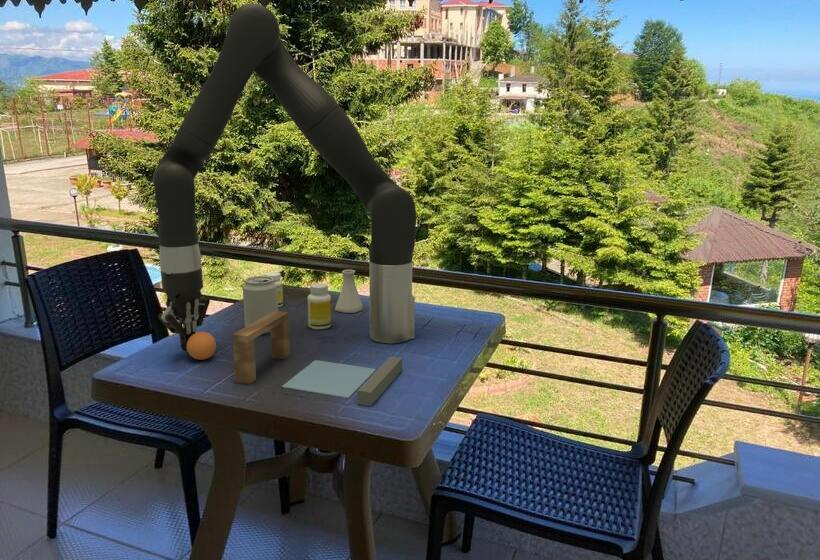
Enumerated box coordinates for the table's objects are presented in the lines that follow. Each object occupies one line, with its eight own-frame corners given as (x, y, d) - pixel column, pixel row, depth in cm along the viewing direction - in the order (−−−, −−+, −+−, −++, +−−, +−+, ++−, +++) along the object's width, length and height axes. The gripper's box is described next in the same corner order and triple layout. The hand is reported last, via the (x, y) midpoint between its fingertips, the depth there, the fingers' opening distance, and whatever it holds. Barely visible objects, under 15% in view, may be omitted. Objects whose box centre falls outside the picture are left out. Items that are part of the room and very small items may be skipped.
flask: (329, 311, 151) (328, 272, 148) (342, 303, 158) (342, 266, 155) (355, 315, 149) (355, 275, 146) (368, 307, 155) (367, 269, 153)
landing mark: (281, 387, 108) (281, 386, 108) (315, 360, 120) (315, 360, 120) (348, 398, 104) (348, 397, 104) (376, 370, 116) (376, 369, 116)
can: (270, 336, 133) (268, 283, 130) (239, 333, 135) (235, 281, 132) (284, 325, 141) (282, 275, 137) (254, 323, 142) (251, 273, 139)
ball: (210, 350, 124) (220, 330, 122) (209, 368, 120) (219, 348, 118) (184, 342, 122) (193, 322, 120) (181, 361, 118) (191, 340, 115)
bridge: (235, 381, 110) (232, 334, 108) (276, 353, 124) (274, 310, 121) (250, 384, 109) (247, 336, 107) (290, 355, 123) (288, 312, 120)
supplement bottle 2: (335, 327, 140) (335, 286, 137) (314, 331, 137) (313, 289, 134) (325, 320, 144) (324, 281, 142) (304, 324, 141) (302, 284, 139)
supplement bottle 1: (261, 304, 156) (259, 273, 154) (278, 301, 159) (276, 270, 157) (269, 309, 152) (267, 276, 150) (286, 306, 155) (285, 274, 153)
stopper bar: (357, 404, 102) (357, 390, 102) (390, 368, 117) (390, 356, 116) (370, 406, 102) (370, 392, 101) (402, 370, 116) (402, 358, 116)
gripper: (188, 258, 125) (195, 337, 129) (140, 272, 113) (150, 359, 117) (218, 261, 123) (224, 341, 127) (173, 276, 111) (182, 364, 115)
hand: (188, 350), depth 122 cm, fingers closed
